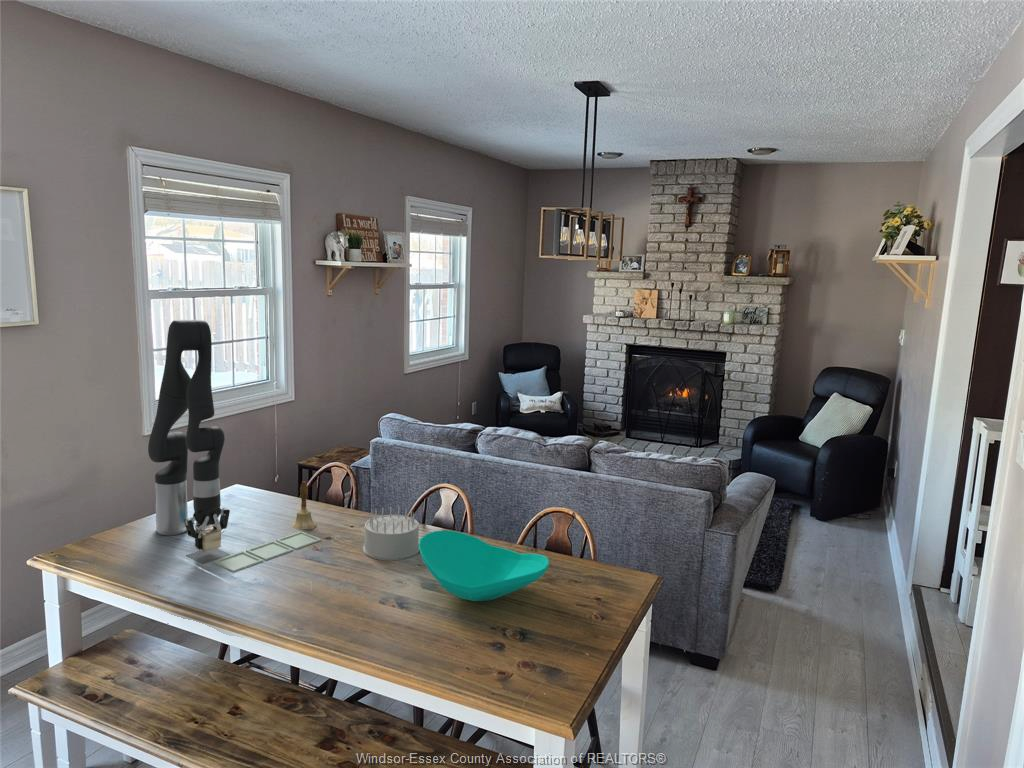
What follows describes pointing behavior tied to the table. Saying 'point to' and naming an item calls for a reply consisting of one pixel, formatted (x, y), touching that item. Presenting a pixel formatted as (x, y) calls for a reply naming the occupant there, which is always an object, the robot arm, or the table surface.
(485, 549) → the table top decor
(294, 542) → the tray
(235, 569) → the tray
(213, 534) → the letter cube
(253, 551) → the tray
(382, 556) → the cake
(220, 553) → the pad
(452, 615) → the table surface
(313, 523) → the hand bell
